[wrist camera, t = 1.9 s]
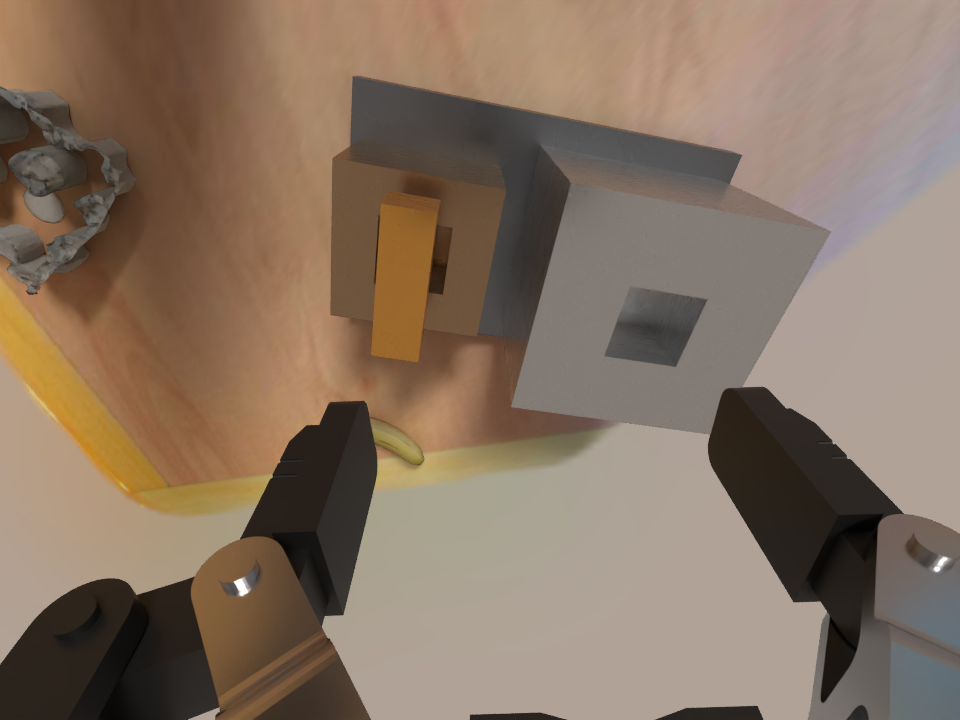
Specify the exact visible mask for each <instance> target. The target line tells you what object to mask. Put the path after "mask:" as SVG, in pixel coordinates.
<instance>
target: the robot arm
mask: <svg viewBox="0 0 960 720" xmlns="http://www.w3.org/2000/svg"><path fill="white" fill-rule="evenodd" d="M708 454H709V460H710V463H711V466H712V468H713V470H714V472H715V473H716V475H717V476H718V478H719V480H720V481H721V483H722V485H723V486H724V488H725V490H726V491H727V493H728V495H729V496H730V498H731V500H732V501H733V503H734V504H735V506H736V508H737V509H738V511H739V513H740V514H741V516H742V518H743V519H744V521H745V523H746V524H747V526H748V528H749V529H750V531H751V533H752V534H753V535H754V538H755V539H756V541H757V542H758V544H759V546H760V547H761V549H762V551H763V552H764V554H765V556H766V557H767V559H768V561H769V562H770V564H771V566H772V567H773V569H774V571H775V572H776V574H777V575H778V577H779V579H780V580H781V582H782V584H783V585H784V587H785V589H786V590H787V592H788V594H789V595H790V597H791V599H792V600H793V602H817V601H821V603H822V604H823V606H824V607H825V609H826V610H827V614H826V615H825V617H824V619H823V621H822V625H821V633H820V640H819V647H818V655H817V662H816V670H815V678H814V685H813V692H812V700H811V707H810V713H809V717H808V720H960V534H959V533H957V532H956V531H954V530H952V529H950V528H949V527H946V526H944V525H942V524H940V523H937V522H935V521H933V520H930V519H927V518H923V517H919V516H915V515H908V514H904V513H902V511H901V510H900V509H899V508H898V507H897V506H896V505H895V504H894V503H893V502H892V501H891V500H890V499H889V498H888V497H887V496H886V495H885V494H884V493H883V492H882V491H881V490H880V489H879V488H878V487H877V486H876V485H875V484H874V483H873V482H872V481H871V480H870V479H869V478H868V477H867V476H866V475H865V473H863V471H861V470H860V468H859V467H858V466H856V464H855V463H854V462H853V461H852V460H851V459H847V455H846V454H845V453H844V452H843V451H842V450H841V449H840V448H839V447H838V446H837V445H836V444H833V443H832V440H831V439H830V438H829V437H828V436H827V435H826V434H825V433H824V432H823V431H822V430H821V429H820V428H819V427H818V426H817V424H816V423H814V422H812V421H811V420H809V419H807V418H806V417H804V416H803V415H801V414H799V413H797V412H796V411H794V410H793V409H791V408H790V409H786V408H785V407H784V406H783V405H782V404H781V403H780V402H779V400H778V399H777V398H776V397H775V396H774V395H773V394H772V393H771V392H770V391H769V390H768V389H767V388H765V387H744V388H727V389H725V390H724V391H723V393H722V395H721V398H720V401H719V405H718V409H717V412H716V416H715V420H714V423H713V427H712V431H711V434H710V438H709V443H708ZM376 477H377V452H376V447H375V442H374V437H373V432H372V427H371V422H370V417H369V412H368V408H367V404H366V403H365V401H348V402H331V403H329V405H328V406H327V409H326V411H325V413H324V415H323V418H322V420H321V422H320V425H307V426H305V427H304V428H303V429H302V430H301V431H300V432H299V433H298V434H297V435H296V436H295V437H294V438H293V439H291V440H290V441H289V443H288V445H287V447H286V449H285V451H284V453H283V455H282V457H281V459H280V463H278V465H277V467H276V469H275V471H274V473H273V478H272V479H270V481H269V483H268V485H267V487H266V489H265V491H264V493H263V495H262V497H261V499H260V501H259V503H258V505H257V507H256V509H255V511H254V513H253V515H252V517H251V519H250V521H249V523H248V525H247V527H246V529H245V531H244V533H243V535H242V537H241V538H240V540H237V541H235V542H232V543H230V544H228V545H227V546H225V547H223V548H221V549H220V550H218V551H217V552H216V553H214V554H213V555H212V556H211V557H210V558H209V559H208V560H207V561H206V562H205V563H204V564H203V565H202V566H201V568H200V569H199V571H198V572H197V574H196V576H195V577H192V578H190V579H187V580H184V581H181V582H177V583H174V584H171V585H168V586H165V587H162V588H158V589H155V590H152V591H149V592H145V593H142V594H139V595H136V594H135V592H134V591H133V589H132V588H131V587H130V585H129V584H128V583H126V582H125V581H122V580H120V579H114V578H113V579H101V580H96V581H93V582H89V583H87V584H84V585H82V586H79V587H77V588H75V589H73V590H71V591H70V592H68V593H66V594H65V595H63V596H61V597H60V598H58V599H57V600H56V601H54V602H53V603H52V604H50V605H49V606H48V607H47V608H46V609H45V610H43V611H42V612H41V613H40V614H39V615H38V616H37V617H36V619H35V620H34V621H33V622H32V623H31V625H30V626H29V627H28V628H27V630H26V631H25V632H24V634H23V635H22V636H21V638H20V639H19V640H18V642H17V643H16V644H15V646H14V647H13V649H12V650H11V651H10V652H9V654H8V655H7V656H6V658H5V659H4V660H3V662H2V663H1V665H0V720H188V719H190V718H193V717H195V716H198V715H200V714H203V713H205V712H208V711H210V710H213V709H216V708H219V707H220V712H219V713H217V714H216V718H215V720H371V719H370V717H369V715H368V713H367V711H366V709H365V707H364V705H363V703H362V701H361V699H360V697H359V695H358V693H357V691H356V689H355V687H354V685H353V683H352V681H351V679H350V677H349V675H348V673H347V671H346V669H345V667H344V665H343V663H342V661H341V659H340V657H339V655H338V653H337V651H336V649H335V647H334V645H333V643H332V642H331V641H330V639H328V638H327V637H326V635H325V633H324V631H323V629H322V623H323V620H324V616H332V615H343V614H344V610H345V606H346V602H347V598H348V594H349V590H350V585H351V581H352V577H353V573H354V569H355V564H356V560H357V556H358V552H359V548H360V544H361V540H362V536H363V532H364V527H365V523H366V519H367V515H368V511H369V507H370V503H371V499H372V494H373V490H374V486H375V482H376ZM470 720H566V719H562V718H558V717H555V716H551V715H547V714H543V713H515V714H514V713H512V714H482V715H470ZM656 720H763V718H762V715H761V713H760V711H759V709H758V706H739V707H709V708H708V707H707V708H685V709H683V710H680V711H677V712H675V713H672V714H669V715H667V716H664V717H662V718H659V719H656Z"/></svg>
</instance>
